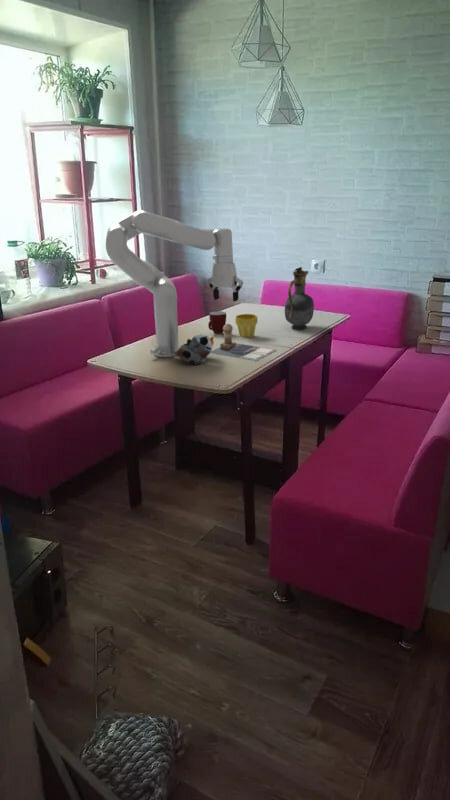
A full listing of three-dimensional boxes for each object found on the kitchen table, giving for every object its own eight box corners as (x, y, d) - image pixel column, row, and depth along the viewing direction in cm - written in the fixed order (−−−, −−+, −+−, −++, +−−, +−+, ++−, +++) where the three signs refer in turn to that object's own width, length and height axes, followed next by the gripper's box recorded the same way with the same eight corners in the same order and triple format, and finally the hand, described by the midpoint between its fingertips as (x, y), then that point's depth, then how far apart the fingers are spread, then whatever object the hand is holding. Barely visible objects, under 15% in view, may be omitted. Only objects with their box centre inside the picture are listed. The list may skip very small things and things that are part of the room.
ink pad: (244, 354, 251) (244, 351, 250) (230, 352, 254) (230, 349, 254) (255, 349, 258) (255, 346, 257) (241, 347, 261) (241, 343, 261)
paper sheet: (255, 360, 243) (255, 359, 243) (239, 357, 248) (239, 356, 247) (276, 349, 256) (276, 349, 256) (260, 347, 261) (260, 346, 260)
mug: (217, 337, 280) (217, 316, 276) (203, 335, 284) (203, 315, 281) (229, 332, 288) (229, 312, 285) (216, 330, 292) (215, 310, 289)
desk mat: (255, 362, 243) (255, 360, 243) (208, 353, 256) (208, 352, 256) (277, 351, 257) (277, 349, 257) (231, 343, 270) (231, 342, 269)
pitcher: (315, 325, 296) (317, 264, 285) (298, 334, 281) (300, 270, 271) (296, 323, 302) (297, 263, 291) (278, 331, 287) (278, 269, 276)
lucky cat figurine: (188, 354, 255) (203, 326, 251) (209, 369, 251) (224, 341, 246) (168, 353, 242) (183, 324, 238) (189, 369, 238) (205, 339, 233)
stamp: (229, 350, 257) (229, 325, 253) (220, 349, 259) (219, 324, 255) (236, 348, 261) (235, 323, 257) (226, 346, 263) (226, 322, 259)
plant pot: (231, 338, 279) (231, 317, 275) (241, 332, 287) (241, 312, 284) (251, 340, 274) (251, 319, 270) (261, 334, 283) (261, 314, 279)
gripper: (201, 260, 249) (204, 300, 255) (237, 261, 240) (238, 303, 246) (211, 257, 255) (214, 296, 261) (246, 258, 246) (247, 299, 252)
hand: (226, 300), depth 254 cm, fingers open, 9 cm apart
